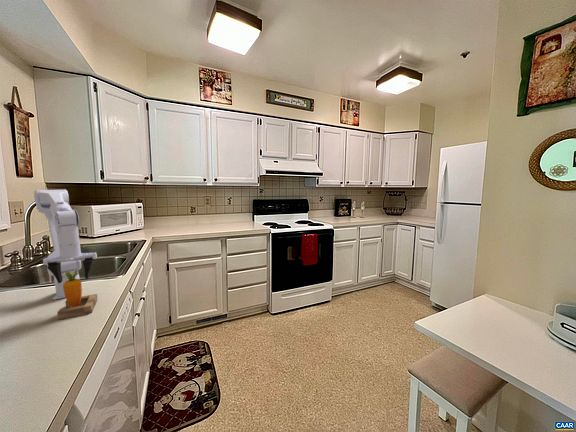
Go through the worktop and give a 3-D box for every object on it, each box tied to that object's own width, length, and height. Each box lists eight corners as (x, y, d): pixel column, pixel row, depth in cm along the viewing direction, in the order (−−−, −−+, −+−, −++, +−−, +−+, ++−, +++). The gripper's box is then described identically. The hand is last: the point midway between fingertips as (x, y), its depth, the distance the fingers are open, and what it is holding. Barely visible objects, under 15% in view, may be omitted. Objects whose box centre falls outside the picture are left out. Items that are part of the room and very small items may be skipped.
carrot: (82, 305, 93) (77, 266, 91) (86, 309, 90) (81, 269, 88) (65, 310, 89) (59, 270, 87) (68, 315, 86) (62, 273, 84)
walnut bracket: (67, 305, 93) (66, 299, 92) (97, 299, 97) (96, 293, 97) (58, 319, 83) (57, 312, 83) (91, 312, 87) (91, 305, 87)
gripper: (37, 249, 82) (43, 288, 84) (92, 243, 89) (96, 279, 90) (45, 244, 88) (50, 280, 90) (96, 239, 95) (100, 273, 97)
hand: (74, 280), depth 91 cm, fingers open, 7 cm apart
